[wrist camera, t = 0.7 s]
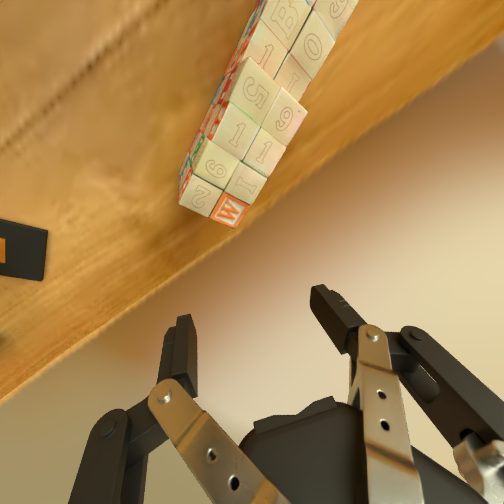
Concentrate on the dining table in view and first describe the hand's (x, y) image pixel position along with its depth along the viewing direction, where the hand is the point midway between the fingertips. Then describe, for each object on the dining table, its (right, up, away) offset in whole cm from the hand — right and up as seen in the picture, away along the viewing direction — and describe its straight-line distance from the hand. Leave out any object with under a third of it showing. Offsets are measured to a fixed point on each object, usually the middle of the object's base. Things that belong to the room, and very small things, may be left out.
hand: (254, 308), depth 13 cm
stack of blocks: (-2, +22, +12) cm, 25 cm away
